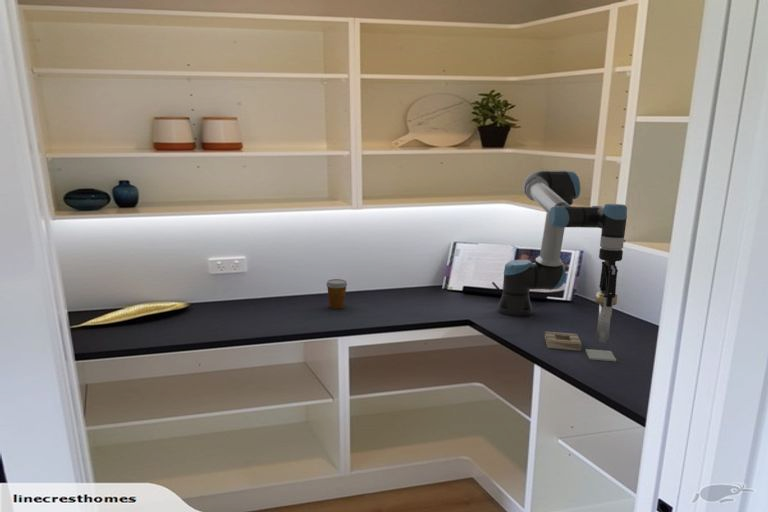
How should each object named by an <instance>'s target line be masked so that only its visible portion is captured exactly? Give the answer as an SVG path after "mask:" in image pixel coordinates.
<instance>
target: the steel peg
mask: <svg viewBox="0 0 768 512" xmlns="http://www.w3.org/2000/svg"><path fill="white" fill-rule="evenodd" d="M610 294H612V293H610ZM604 295H606V292H600V291H598V292H597V291H596V294H595V303H596V304H598V318H597V328H596V336H595V337H596V339H595V340H596V341H597V342H600V343H607V342H609V337H610V336H609V334H610V327H611V326H610V325H611V317H612V316H608V315H603V309H604V299H605V297H604ZM617 302H618V294H616V293H615V297H614V298H613V306H615V305H617ZM599 304H600V306H599Z"/></svg>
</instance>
